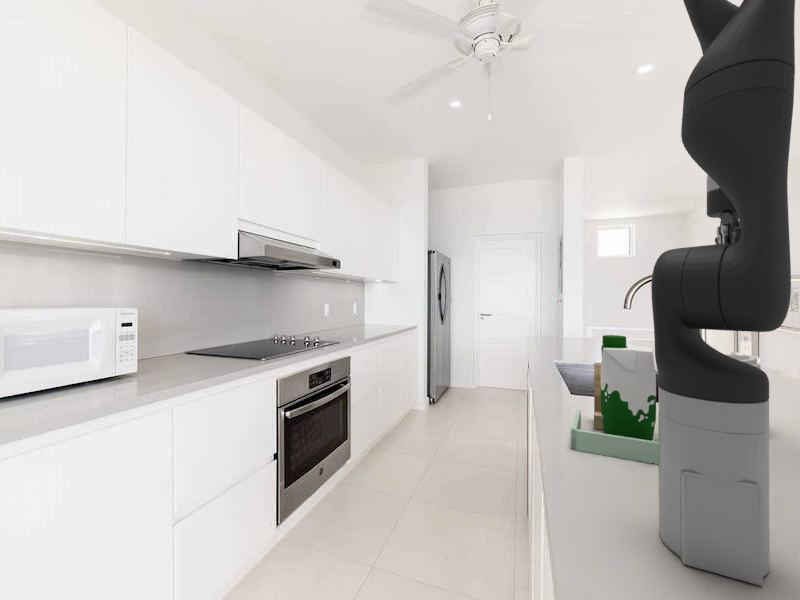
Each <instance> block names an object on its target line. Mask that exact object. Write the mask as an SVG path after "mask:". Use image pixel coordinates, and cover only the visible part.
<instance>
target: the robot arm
mask: <svg viewBox="0 0 800 600" xmlns="http://www.w3.org/2000/svg"><path fill="white" fill-rule="evenodd" d="M682 1H683V4H684V6H685V9H686V13H687V15H688V17H689V20H690V23H691V25H692V28H693V31H694V33H695V34H696V37H697V40H698V42H699V45H700V49H701V52H702V56H701V57H700V59H699V61H698V62H697V63H696V65H695V66H694V68H693V70H692V71H691V73H690V75H689V77H688V79H687V81H686V84H685V88H684V91H683V103H682V104H683V106H682V114H681V115H682V117H681V126H680V127H681V130H680V138H681V142H682V144H683V147H684V149H685V151H686V152H687V154H688V155H689V156H690V158H691V159H692V160H693V161H694V162H695V163H696V164H697V166H698V167H699V168H700V169H701V170H703V172H705V174H706V217H708V218H713V219H716V218H718V219H720V221H719V223H720V224H719V226H717V228H716V236H715V238H714V242H715V244H708V245H707V244H706V245H699V246H698V245H697V246H688V247H687V246H686V247H679V248H673V249H668V250H665V251H664V252H663V253H661V254H660V255H659V257H658V258H657V259H656V261H655V264H654V266H653V271H652V274H651V286H650V287H651V289H650V290H651V305H652V306H651V307H652V319H653V331H654V335H653V337H654V357H655V359H654V361H655V363H656V364H655V365H656V369H657V375H658V376H657V378H658V379H657V381H658V383H657V384H658V385H657V386H658V388H657V389H658V416H657V417H658V426H657V427H658V435H657V436H658V439H657V440H658V441H657V442H658V450H659V465H658V533H659V537H660V539H661V541H662V542H663V543H664V545H666V547H667V548H669V550H671V551H672V552H674V553H675V554H676V555H677V556H678V557H679V558H680V560H681V563H682V564H683V565H687V566H689V567H693V568H696V569H700V570H703V571H707V572H710V573H715V574H718V575H721V576H724V577H728V578H732V579H735V580H740V581H743V582H746V583H750V584H753V585H757V586H760V587H761V586H763V585H764V577H765V576H767V575H768V574H769V572H770V571H771V570H770V569H771V568H770V567H771V566H770V564H771V563H770V562H771V561H770V558H771V557H770V554H771V553H770V551H771V550H770V545H771V543H770V540H771V539H770V538H771V537H770V380H769V377H768V375H767V373H766V372H765V371H764V370H763V369H762V368H761V369H759V368H757V367H755V366H752V365H750V364H747V363H745V362H742V361H739V360H736V359H734V358H731V357H729V356H727V355H728V354H724V353H723V352H721V351H719V350H717V349H716V348H714V347H713V346H711V345H710V344H709V343H707V342H706V341H705V340H704V339H703V338H702V335H701V332H700V330H710V331H715V330H716V331H731V332H748V333H749V332H751V333H752V332H754V333H765V332H767V333H768V332H773V331H776V330H777V329H779V328H780V327H781V326H782V325H783V323H784V322H785V320H786V318H787V316H788V312H789V309H790V303H791V296H792V295H791V293H792V275H791V270H792V269H791V266H792V265H791V247H790V246H791V244H790V241H791V240H790V224H789V223H790V222H789V221H790V220H789V203H788V202H789V201H788V200H789V199H788V198H789V197H788V196H789V195H788V176H789V175H788V173H789V171H788V170H789V157H790V145H791V134H792V126H793V113H794V104H795V102H794V98H795V81H796V79H795V77H796V76H795V74H796V57H795V56H796V54H795V49H796V48H795V46H796V44H795V39H796V38H795V9H796V0H743V1H742V2H741V4H740V5H739V6H738V5H736V4H734V3H733V2H731V1H729V0H682Z"/></svg>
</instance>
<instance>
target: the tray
mask: <svg viewBox="0 0 800 600" xmlns="http://www.w3.org/2000/svg"><path fill="white" fill-rule="evenodd" d="M581 428H582V410H581V409H576V411H575V414H574V417H573V422H572V426H571V429H570V449H571V450H574V451H578V452H583V453H584V452H585V453H591V454H597V455H602V456H607V457H611V458H612V457H613V458H618V459H625V460H631V461H637V462H640V461H642V462H643V463H646V462H647V464H652V463H654V464H653V465H657V464H658V466H659V450H658V441H654V440H652V441H649V440H643V439H636V438H630V437H623V436H616V435H610V434H604V432H603V433H602V432H597V431H590V430H583V429H581Z"/></svg>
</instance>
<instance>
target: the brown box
mask: <svg viewBox="0 0 800 600" xmlns="http://www.w3.org/2000/svg"><path fill="white" fill-rule="evenodd" d="M593 366H594V367H593V370H594V372H593V378H594V379H593V387H594V388H593V390H594V391H593V394H594V396H593V402H594V403H593V405H594V409H593V410H594V411H593V430H597V431H603V432H604V429H603V422H602V416H601V376H600V374H601V362H594V364H593Z"/></svg>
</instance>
